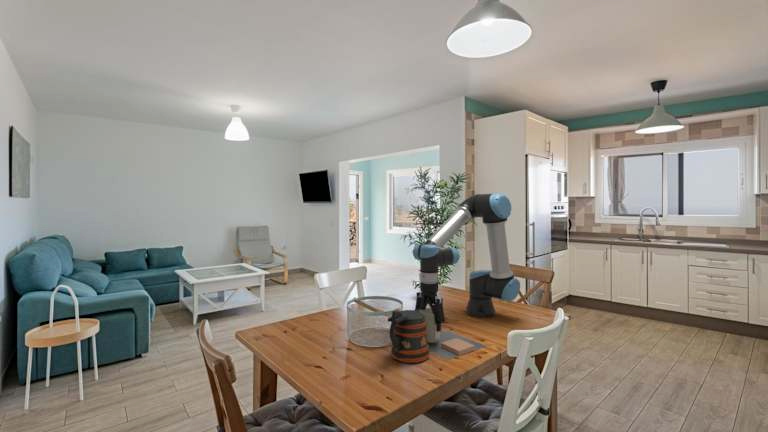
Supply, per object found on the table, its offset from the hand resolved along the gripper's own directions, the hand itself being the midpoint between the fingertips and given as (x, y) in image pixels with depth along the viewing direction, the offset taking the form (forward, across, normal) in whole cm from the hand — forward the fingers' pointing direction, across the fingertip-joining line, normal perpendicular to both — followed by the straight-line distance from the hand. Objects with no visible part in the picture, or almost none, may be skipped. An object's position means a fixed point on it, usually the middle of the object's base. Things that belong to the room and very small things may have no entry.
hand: (429, 335), depth 151 cm
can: (+2, 0, 0) cm, 2 cm away
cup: (+4, -50, +45) cm, 67 cm away
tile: (+2, +12, +9) cm, 15 cm away
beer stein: (+4, +5, -16) cm, 17 cm away
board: (+4, +6, +5) cm, 9 cm away
